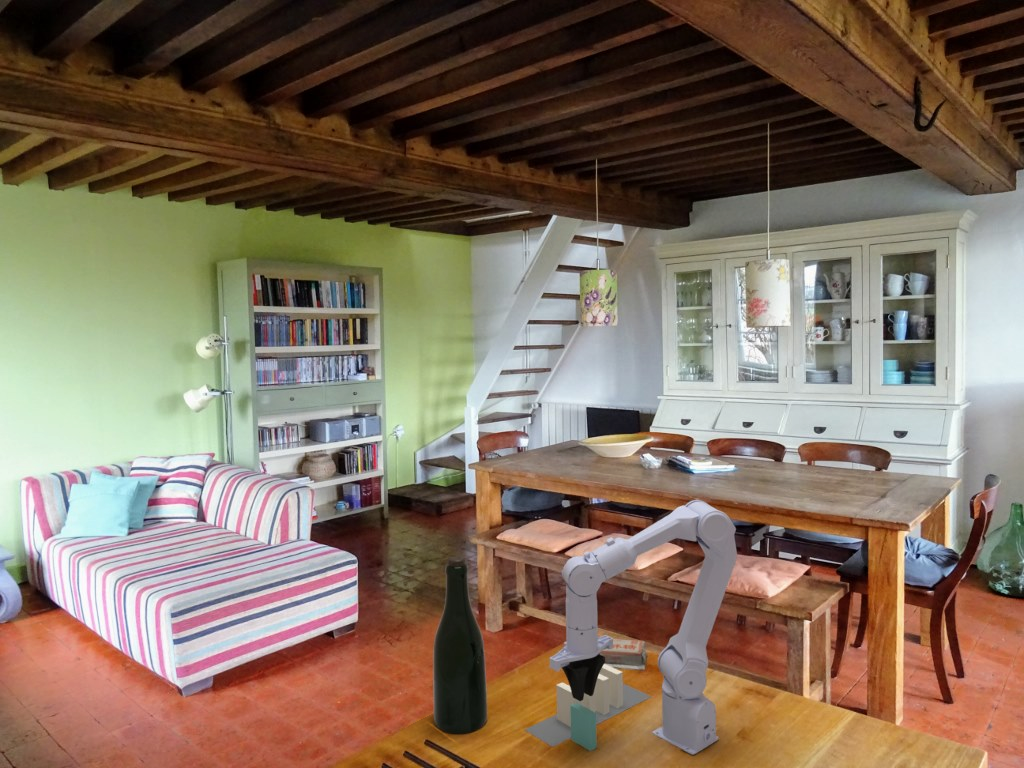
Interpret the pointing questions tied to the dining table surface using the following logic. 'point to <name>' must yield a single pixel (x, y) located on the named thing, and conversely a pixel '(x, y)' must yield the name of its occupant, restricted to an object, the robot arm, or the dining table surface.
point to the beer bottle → (459, 659)
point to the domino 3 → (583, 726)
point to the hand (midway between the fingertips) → (582, 696)
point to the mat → (560, 732)
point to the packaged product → (626, 654)
